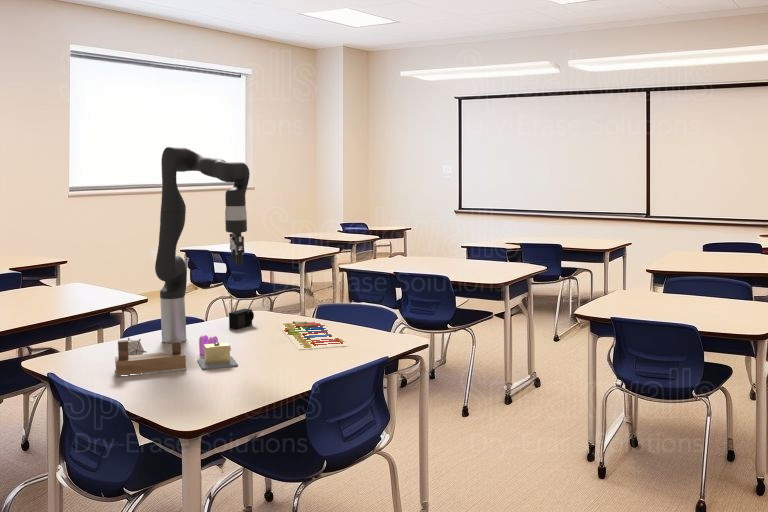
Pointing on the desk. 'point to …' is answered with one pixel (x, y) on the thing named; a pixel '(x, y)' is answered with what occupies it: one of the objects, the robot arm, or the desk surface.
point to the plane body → (149, 360)
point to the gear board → (307, 326)
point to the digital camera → (240, 319)
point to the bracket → (206, 342)
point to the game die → (135, 347)
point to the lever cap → (217, 353)
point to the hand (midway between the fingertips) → (237, 263)
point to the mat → (219, 365)
